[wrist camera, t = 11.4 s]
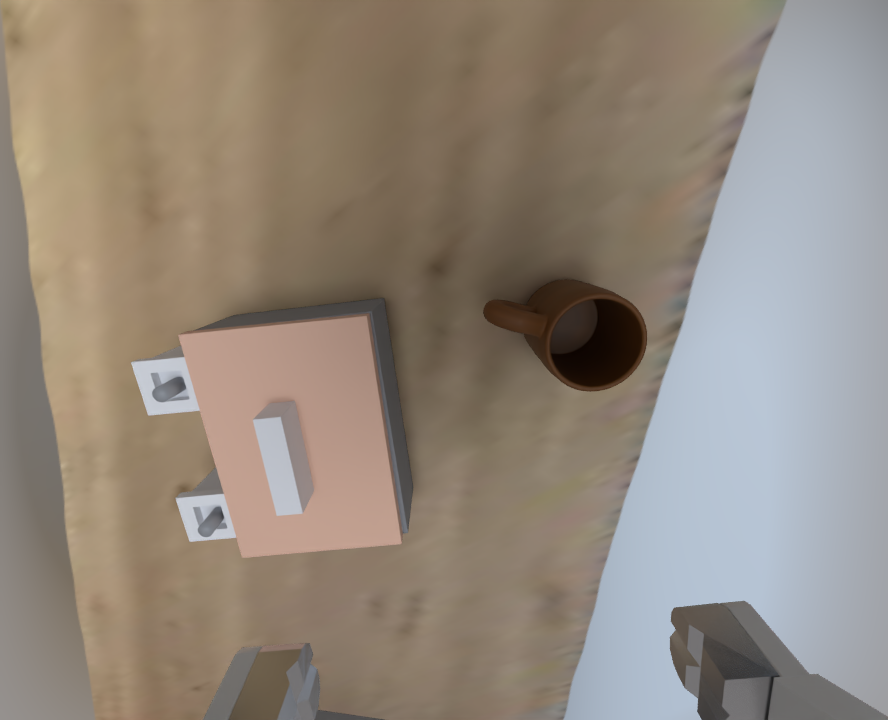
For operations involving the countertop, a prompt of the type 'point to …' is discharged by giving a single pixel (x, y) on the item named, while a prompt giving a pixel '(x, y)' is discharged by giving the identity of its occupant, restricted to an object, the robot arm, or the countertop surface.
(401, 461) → the cabinet
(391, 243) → the countertop surface
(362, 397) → the door
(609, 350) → the mug
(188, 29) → the countertop surface
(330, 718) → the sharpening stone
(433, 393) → the countertop surface
